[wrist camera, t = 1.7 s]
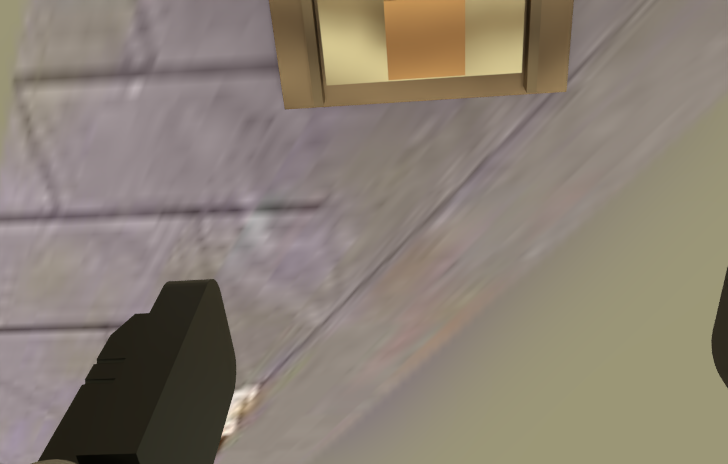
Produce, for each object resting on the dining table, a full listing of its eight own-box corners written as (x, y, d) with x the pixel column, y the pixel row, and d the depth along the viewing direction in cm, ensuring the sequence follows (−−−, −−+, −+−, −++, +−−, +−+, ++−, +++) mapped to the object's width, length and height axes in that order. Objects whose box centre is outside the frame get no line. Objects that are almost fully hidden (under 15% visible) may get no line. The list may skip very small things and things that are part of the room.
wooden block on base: (312, -55, 38) (298, -36, 32) (525, -72, 37) (550, -56, 31) (327, 81, 42) (317, 120, 36) (519, 68, 41) (541, 107, 35)
